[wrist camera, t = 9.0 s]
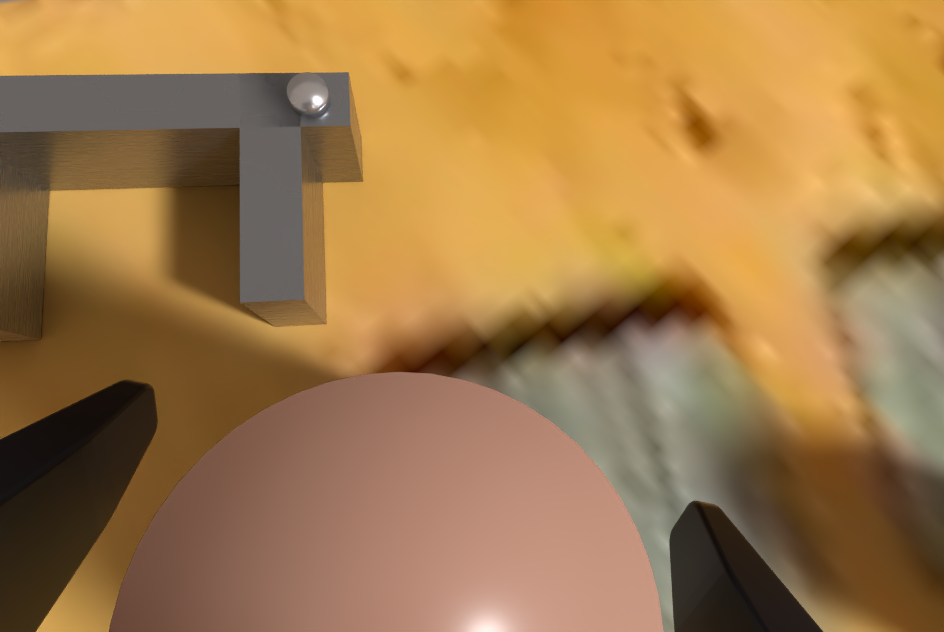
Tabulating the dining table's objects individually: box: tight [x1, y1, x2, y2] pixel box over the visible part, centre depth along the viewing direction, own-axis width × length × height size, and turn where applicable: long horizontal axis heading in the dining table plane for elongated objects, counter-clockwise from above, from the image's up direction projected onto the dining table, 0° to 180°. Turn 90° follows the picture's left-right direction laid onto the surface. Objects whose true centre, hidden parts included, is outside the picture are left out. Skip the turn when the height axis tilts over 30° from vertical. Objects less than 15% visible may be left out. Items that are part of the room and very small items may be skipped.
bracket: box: [0, 72, 363, 342], centre depth 16 cm, size 6×12×4 cm, turn 94°
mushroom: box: [109, 372, 663, 632], centre depth 11 cm, size 5×5×12 cm
